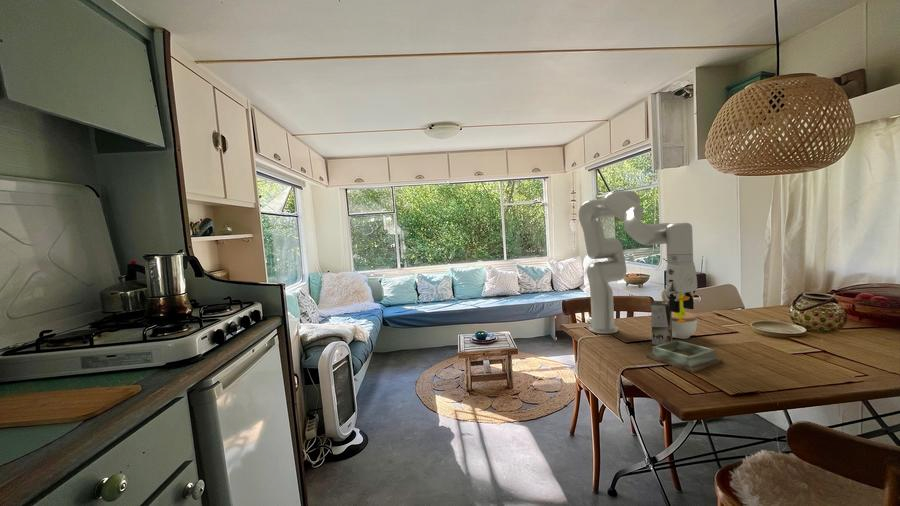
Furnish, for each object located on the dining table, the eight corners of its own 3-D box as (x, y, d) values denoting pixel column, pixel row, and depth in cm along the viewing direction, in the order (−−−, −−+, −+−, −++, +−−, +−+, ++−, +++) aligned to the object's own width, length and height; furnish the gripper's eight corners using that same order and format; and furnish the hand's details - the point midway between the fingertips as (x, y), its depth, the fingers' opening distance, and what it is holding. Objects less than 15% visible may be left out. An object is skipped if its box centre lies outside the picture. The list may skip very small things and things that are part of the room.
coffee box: (670, 346, 134) (669, 305, 133) (651, 344, 138) (650, 304, 137) (673, 340, 141) (671, 300, 140) (654, 337, 145) (653, 299, 144)
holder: (646, 357, 126) (645, 346, 125) (675, 348, 132) (674, 338, 132) (692, 372, 111) (692, 360, 111) (722, 361, 117) (722, 350, 117)
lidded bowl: (694, 342, 137) (694, 315, 136) (658, 337, 145) (657, 311, 145) (700, 334, 146) (699, 308, 145) (665, 330, 154) (664, 305, 154)
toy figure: (685, 319, 123) (684, 285, 122) (694, 321, 120) (693, 287, 119) (669, 321, 122) (668, 287, 121) (678, 324, 118) (677, 289, 117)
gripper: (674, 262, 112) (676, 316, 114) (707, 256, 119) (708, 308, 120) (652, 261, 119) (654, 312, 120) (684, 256, 126) (686, 304, 127)
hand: (681, 309), depth 120 cm, fingers closed on toy figure, 6 cm apart
